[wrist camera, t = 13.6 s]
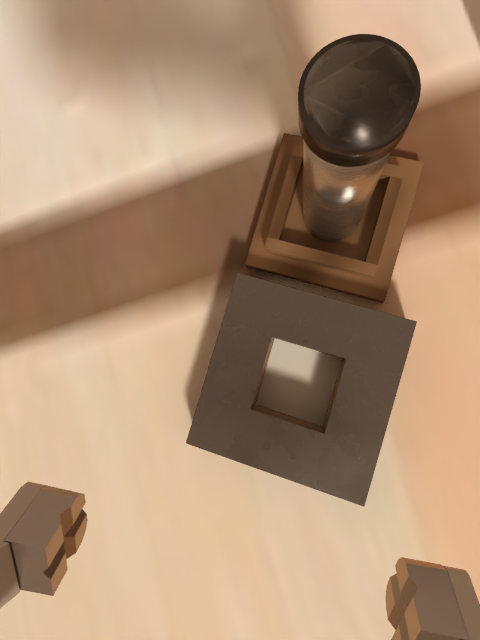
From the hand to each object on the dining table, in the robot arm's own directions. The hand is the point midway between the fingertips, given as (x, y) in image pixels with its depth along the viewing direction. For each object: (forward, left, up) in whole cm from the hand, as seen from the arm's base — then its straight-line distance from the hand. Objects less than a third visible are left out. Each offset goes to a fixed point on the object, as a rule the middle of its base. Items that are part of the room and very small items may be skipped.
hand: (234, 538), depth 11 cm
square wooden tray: (0, +15, -19) cm, 24 cm away
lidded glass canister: (-1, +15, -18) cm, 24 cm away
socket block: (+1, +3, -19) cm, 19 cm away
